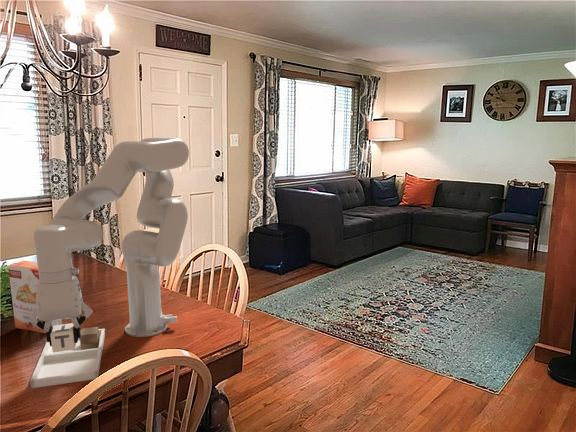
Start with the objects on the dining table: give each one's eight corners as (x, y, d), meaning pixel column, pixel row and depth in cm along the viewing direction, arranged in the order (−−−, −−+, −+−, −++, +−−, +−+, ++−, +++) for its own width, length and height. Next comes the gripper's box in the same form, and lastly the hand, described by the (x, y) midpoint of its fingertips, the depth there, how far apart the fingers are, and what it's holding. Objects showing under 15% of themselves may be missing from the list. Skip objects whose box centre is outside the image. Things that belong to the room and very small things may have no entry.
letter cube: (76, 340, 122) (74, 322, 120) (74, 349, 117) (72, 331, 116) (56, 343, 120) (53, 325, 119) (52, 352, 115) (50, 334, 114)
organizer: (105, 335, 140) (104, 328, 139) (98, 380, 115) (97, 372, 115) (50, 342, 135) (49, 334, 135) (30, 390, 111) (29, 381, 110)
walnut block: (99, 341, 135) (98, 326, 134) (98, 348, 131) (96, 333, 130) (82, 343, 134) (81, 328, 133) (80, 350, 130) (79, 335, 129)
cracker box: (14, 329, 144) (6, 264, 140) (30, 321, 149) (24, 259, 145) (47, 336, 139) (41, 270, 135) (63, 328, 144) (58, 264, 140)
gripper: (94, 266, 120) (101, 330, 124) (21, 273, 115) (30, 340, 119) (91, 276, 113) (99, 344, 117) (13, 284, 108) (24, 354, 112)
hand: (64, 341), depth 118 cm, fingers closed on letter cube, 4 cm apart
